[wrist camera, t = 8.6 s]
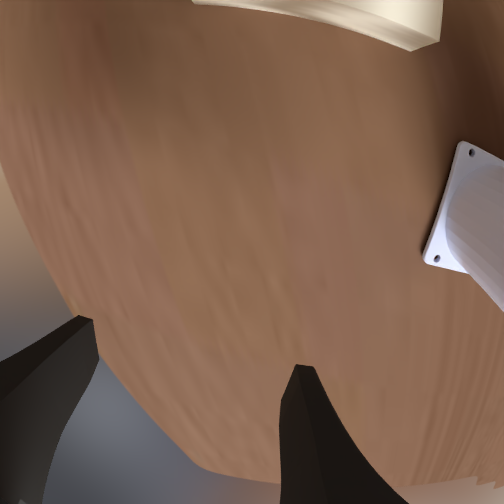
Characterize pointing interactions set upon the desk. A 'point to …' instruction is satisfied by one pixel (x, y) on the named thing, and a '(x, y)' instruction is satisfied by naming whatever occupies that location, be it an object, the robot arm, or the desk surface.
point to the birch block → (362, 16)
